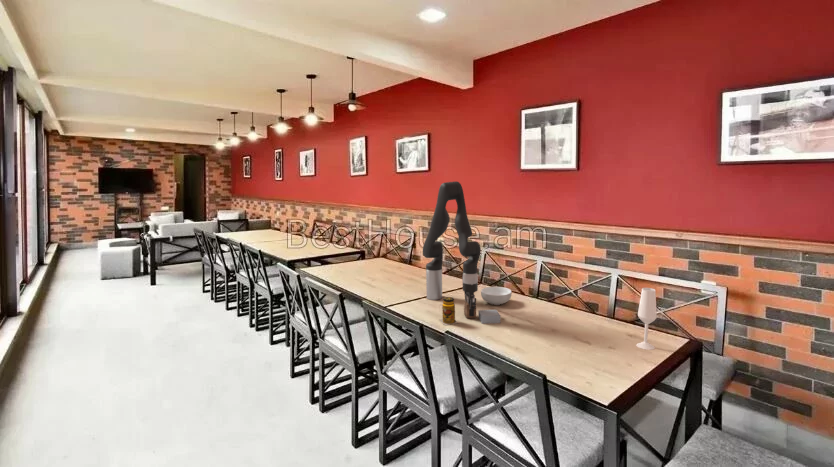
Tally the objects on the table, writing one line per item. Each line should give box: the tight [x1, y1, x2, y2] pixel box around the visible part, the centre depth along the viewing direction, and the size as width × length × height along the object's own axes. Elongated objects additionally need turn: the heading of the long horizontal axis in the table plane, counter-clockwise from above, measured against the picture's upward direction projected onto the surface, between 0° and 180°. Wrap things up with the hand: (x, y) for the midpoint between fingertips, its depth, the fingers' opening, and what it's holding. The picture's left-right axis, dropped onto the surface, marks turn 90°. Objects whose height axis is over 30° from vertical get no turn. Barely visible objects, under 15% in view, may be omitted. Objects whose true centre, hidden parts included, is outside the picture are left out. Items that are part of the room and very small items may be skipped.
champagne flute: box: [635, 287, 658, 351], centre depth 169 cm, size 7×7×24 cm
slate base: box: [477, 309, 501, 325], centre depth 205 cm, size 9×9×4 cm
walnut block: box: [463, 300, 477, 319], centre depth 210 cm, size 5×5×7 cm
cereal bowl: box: [480, 286, 512, 306], centre depth 232 cm, size 17×17×7 cm
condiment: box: [438, 296, 459, 326], centre depth 204 cm, size 7×8×12 cm
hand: (470, 314), depth 210 cm, fingers closed on walnut block, 5 cm apart
